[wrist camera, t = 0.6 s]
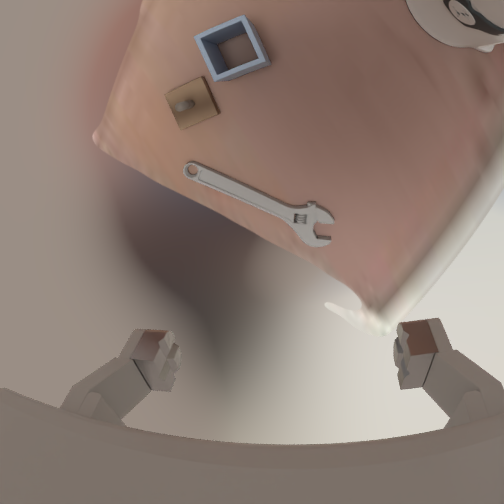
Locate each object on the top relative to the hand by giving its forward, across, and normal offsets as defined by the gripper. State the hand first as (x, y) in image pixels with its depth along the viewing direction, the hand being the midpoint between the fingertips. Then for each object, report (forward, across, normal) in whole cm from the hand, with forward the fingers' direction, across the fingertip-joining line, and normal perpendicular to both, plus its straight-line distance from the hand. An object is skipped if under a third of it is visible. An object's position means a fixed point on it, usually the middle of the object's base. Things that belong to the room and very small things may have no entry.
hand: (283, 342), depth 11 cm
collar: (+38, +6, -14) cm, 40 cm away
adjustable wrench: (+38, +6, +8) cm, 40 cm away
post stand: (+38, +14, -7) cm, 41 cm away
